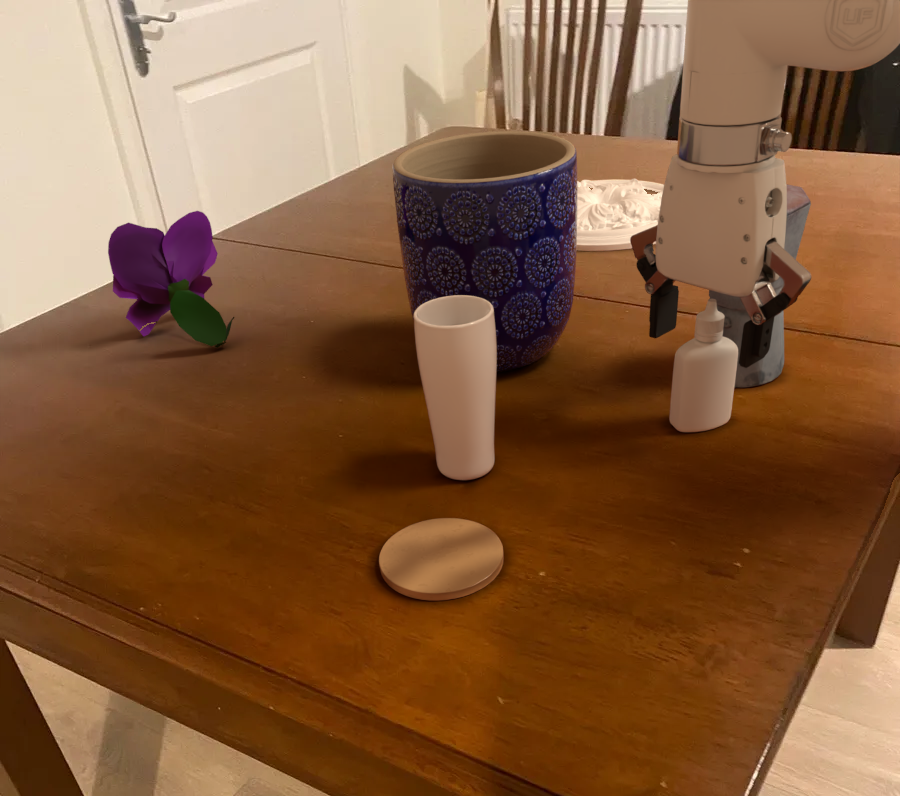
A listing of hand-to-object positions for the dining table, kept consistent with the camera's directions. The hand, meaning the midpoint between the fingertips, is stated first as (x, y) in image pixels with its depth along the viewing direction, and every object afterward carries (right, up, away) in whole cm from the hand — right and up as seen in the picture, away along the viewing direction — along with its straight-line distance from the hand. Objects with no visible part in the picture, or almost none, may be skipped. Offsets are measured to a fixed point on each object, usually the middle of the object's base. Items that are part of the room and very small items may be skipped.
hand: (705, 346), depth 82 cm
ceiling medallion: (0, +34, +53) cm, 63 cm away
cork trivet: (-24, -20, -9) cm, 32 cm away
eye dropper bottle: (+1, -6, +5) cm, 8 cm away
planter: (-18, +5, +21) cm, 28 cm away
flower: (-54, +10, +31) cm, 63 cm away
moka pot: (+7, +1, +13) cm, 15 cm away
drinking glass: (-22, -11, +2) cm, 24 cm away
